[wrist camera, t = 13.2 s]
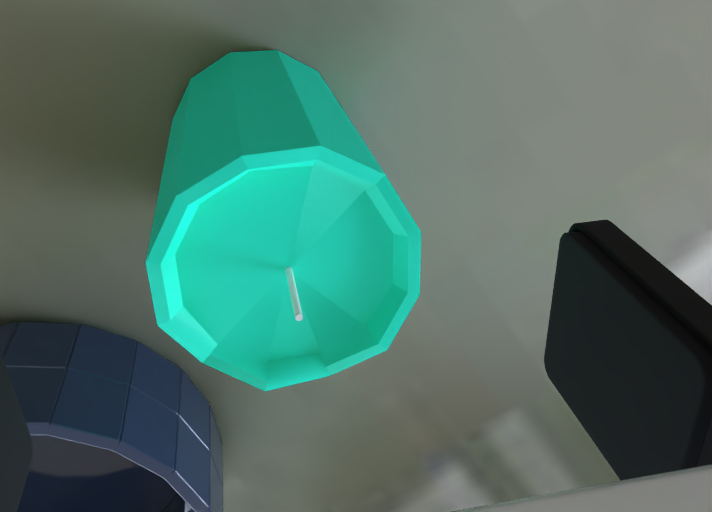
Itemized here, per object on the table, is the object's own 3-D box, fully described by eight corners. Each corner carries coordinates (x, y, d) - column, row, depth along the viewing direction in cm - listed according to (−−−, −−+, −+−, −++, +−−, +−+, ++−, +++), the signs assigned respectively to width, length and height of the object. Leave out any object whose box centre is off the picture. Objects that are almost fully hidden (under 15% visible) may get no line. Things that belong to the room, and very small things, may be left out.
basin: (-164, 534, 28) (-251, 680, 23) (-82, 267, 23) (-167, 370, 18) (154, 588, 33) (143, 718, 27) (271, 374, 28) (284, 480, 23)
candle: (142, 81, 22) (79, 237, 12) (316, 23, 22) (408, 125, 12) (210, 236, 25) (209, 473, 15) (364, 184, 25) (472, 381, 15)
